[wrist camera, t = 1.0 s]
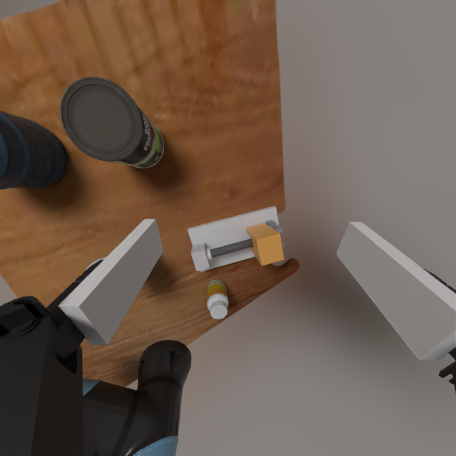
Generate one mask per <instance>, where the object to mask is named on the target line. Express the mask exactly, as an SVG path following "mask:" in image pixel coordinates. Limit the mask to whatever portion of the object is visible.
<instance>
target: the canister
mask: <svg viewBox="0 0 456 456" xmlns="http://www.w3.org/2000/svg"><path fill="white" fill-rule="evenodd" d="M66 168H67V157H66V153H65V151H64V148H63V146H62V145H61V143H60V142H59V140H58V139H57V138H56V137H55V136H54V135H53V134H52V133H51V132H50V131H48V130H47V129H45V128H44V127H42V126H41V125H39V124H37V123H35V122H33V121H31V120H28V119H26V118H23V117H19V116H15V115H11V114H8V113H5V112H3V111H0V190H1V189H7V188H43V187H47V186H50V185H53V184H55V183H57V182H58V181H59V180H60V179H61V178H62V177H63V176H64V174H65V172H66Z"/></svg>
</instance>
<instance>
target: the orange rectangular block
mask: <svg viewBox="0 0 456 456" xmlns="http://www.w3.org/2000/svg"><path fill="white" fill-rule="evenodd" d="M246 232H247V234H248V235H249V236H250V237H251V238H252V243H253V247H250V250H251V251H252V253H253V254H254V256H255V257H256V259H257V260H258V262H259V263H260V265H261V266H263V265H267V264H271V263H274V262H277V261H281V260H284V256H283V249H282V243H281V236H280V233H279V232H277V231H276V230H274V229H273V228H271V227H270V226H268V225H267V224H265V223H262V224H258V225H254V226H251V227H247V228H246Z"/></svg>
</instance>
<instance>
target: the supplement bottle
mask: <svg viewBox="0 0 456 456" xmlns="http://www.w3.org/2000/svg"><path fill="white" fill-rule="evenodd" d="M207 307H208V309H209V310H210V313H211V316H212V317H213V318H215V319H222V318H224V317H225V316H226V314H227V307H228V297H227V292H226V287H225V284H224V283H223V282H222V281H220V280H213V281H211V282H210V283H209V284H208V285H207Z"/></svg>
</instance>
